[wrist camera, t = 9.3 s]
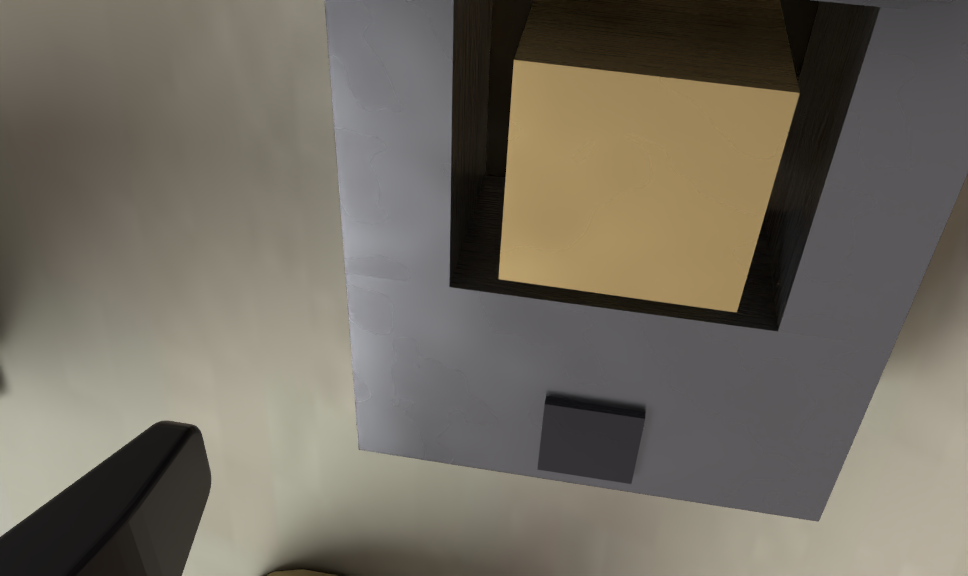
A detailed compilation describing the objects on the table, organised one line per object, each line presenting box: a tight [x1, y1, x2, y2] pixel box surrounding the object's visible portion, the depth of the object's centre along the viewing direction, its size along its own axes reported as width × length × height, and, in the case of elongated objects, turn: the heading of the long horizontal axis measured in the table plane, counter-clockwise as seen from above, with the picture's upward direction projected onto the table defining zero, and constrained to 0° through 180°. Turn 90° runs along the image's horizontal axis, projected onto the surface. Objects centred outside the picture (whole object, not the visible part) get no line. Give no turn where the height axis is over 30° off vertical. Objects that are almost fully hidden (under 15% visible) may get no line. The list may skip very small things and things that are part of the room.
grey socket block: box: [325, 0, 968, 521], centre depth 16 cm, size 10×16×4 cm, turn 179°
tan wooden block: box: [499, 0, 800, 313], centre depth 16 cm, size 4×4×5 cm
